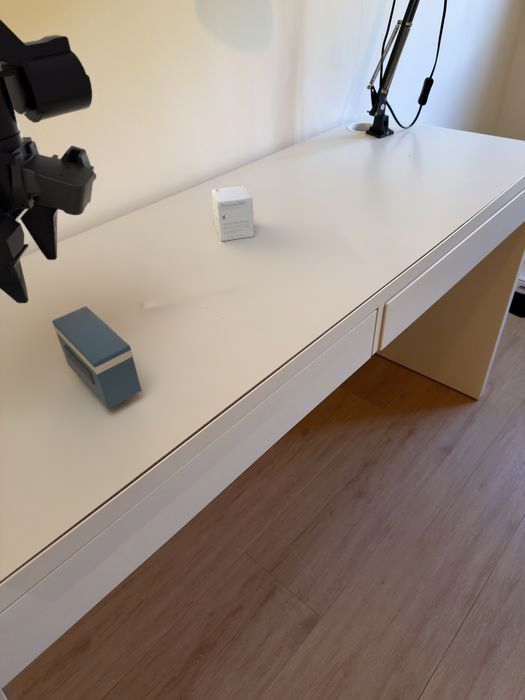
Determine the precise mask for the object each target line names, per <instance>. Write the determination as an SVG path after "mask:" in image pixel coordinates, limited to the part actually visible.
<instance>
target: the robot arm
mask: <svg viewBox="0 0 525 700" xmlns="http://www.w3.org/2000/svg"><path fill="white" fill-rule="evenodd" d="M92 102H93V87H92V83H91V79H90V76H89V74H87V72H86V69H85V68H84V66H83V64H82V61H81V60H80V59H79V57H78V56H77V55H76V53H75V52H74V51H72V48H71V44H70V40H69V37H67V36H66V35H59V34H53V35H45V36H44V37H42V38H40V39H37V40H31V41H26V42H24V41H23V40H21V39H20V38H19V37H18V36H17V35H16V33H15V32H14V31H13V30H11V28H9V27H8V25H6V23H5V22H4V21H3V20H2V19H0V290H1V291H3V292H4V293H5V294H6V295H8V297H10V298H11V299H12V300H13V301H14V302H16V303H17V304H27V303H29V293H28V289H27V284H26V283H27V282H26V279H25V275H24V272H23V267H22V263H21V258H22V256H23V255H24V254H25V252H26V251H27V250H28V248H29V246H30V245H29V243H25V231H24V229H23V226H22V224H23V225H24V227H25V228H26V230H27V232H28V234H29V235H30V236H31V238H32V240H33V241H34V243H35V244H36V246H37V247H38V249H39V251H40V252H41V253H42V255H43V256H44V257H45V259H46V260H47V261H55V260H57V258H58V211H63V212H64V214H68V215H71V216H80V215H82V214H83V213H84V212H85V209H86V207H87V206H88V204H90V203H91V201H92V195H93V194H92V193H93V186H94V182H95V181H96V180H97V174H96V172H95V166H93V165H91V162H90V158H89V156H88V153H87V150H86V149H85V148H82V147H78V146H75V145H70V147H69V148H67V150H66V151H65V152H64V154H62V156H61V157H60V158H59V155H58V154H53V155H52V156H47V155H44V154H40V151H39V150H38V146H37V144H36V141H34V140H33V139H32V136H23V135H22V131H21V128H20V125H19V121H18V118H17V116H16V114H18V115H23V116H24V117H25V118H26V119H28V120H29V121H30V122H31V123H34V124H35V123H41V122H44V121H48V120H53V119H56V118H59V117H63V116H67V115H72V114H74V113H75V114H76V113H79V112H83V111H86V110H88V109H89V108H90V107H91V105H92ZM15 112H16V113H15ZM19 220H20V221H21V222H22V223H20V222H19Z"/></svg>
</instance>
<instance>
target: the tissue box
mask: <svg viewBox="0 0 525 700" xmlns="http://www.w3.org/2000/svg"><path fill="white" fill-rule="evenodd" d="M51 322H52V326H53V328H54V330H55V333H56V335H57V338H58V342H59V344H60V347H61V349H62V352H63V355H64V357H65V360H66V363H67V365H68V367H70V368H71V369H72V371H73V372H74V373H75V374H76V375H77V376H78V377H79V379H80V380H81V381H82V382H83V383H84V384H85V385H86V386H87V388H88V389H89V390H90V391H91V392H92V394H93V395H95V396H96V397H97V399H99V401H100V402H101V403H102V404H103V405H104V406H105V407H106V409H108V410H109V409H111V408H113V407H115V406H116V405H119V404H120V403H122V402H125V401H126V400H127V399H130V398H131V397H134V396H135V395H136V394H138V393H141V392H142V387H141V383H140V379H139V375H138V371H137V368H136V363H135V360H134V356H133V355H134V354H133V352H132V349H131V345H130V344H129V343H128V342H126V341H125V340H124V339H123V338H122V337H121V336H120V335H119V334H118V333H117V332H116V331H114V330H113V329H112V328H111V327H110V326H109V325H108V324H106V322H104V321H103V320H102V319H101V318H100V317H99V316H98V315H96V314H95V312H94V311H92V309H90V308H89V307H88V306H87V305H85V306H82V307H81V308H78V309H76V310H74V311H71V312H69V313H67V314H63V315H62V316H59V317H57V318H55V319H53V320H52V321H51Z"/></svg>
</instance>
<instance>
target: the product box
mask: <svg viewBox="0 0 525 700" xmlns="http://www.w3.org/2000/svg"><path fill="white" fill-rule="evenodd" d="M250 193H251V192H249V190H248V189H247V187H246V185H237V186H227V187H221V188H213V189H211V195H212V196H211V197H212V207H213V216H214V226H215V229H216V231H217V234H218V236H219V238H220V240H221V242H226V241H227V242H228V241H233V240H239V239H247V238H253V237H255V223H254V222H255V221H254V207H253V206H254V203H253V197H252V195H251V194H250Z"/></svg>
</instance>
